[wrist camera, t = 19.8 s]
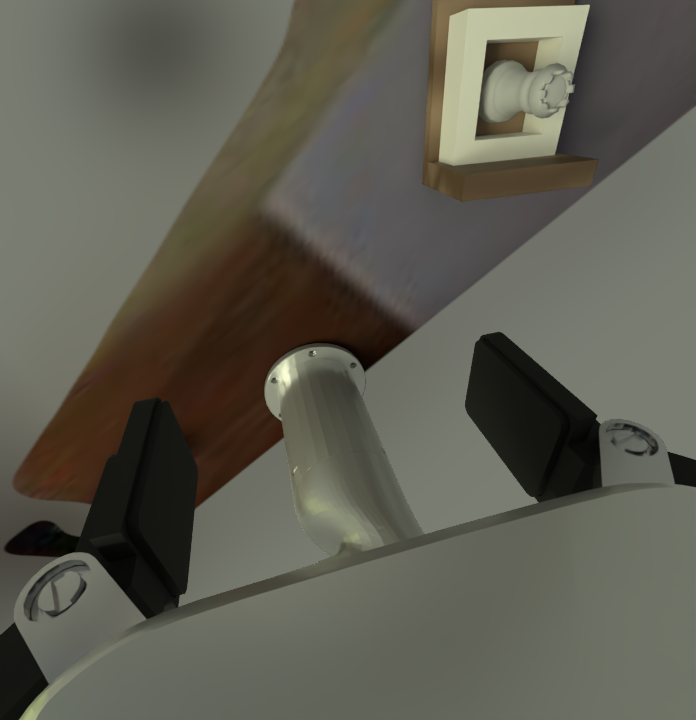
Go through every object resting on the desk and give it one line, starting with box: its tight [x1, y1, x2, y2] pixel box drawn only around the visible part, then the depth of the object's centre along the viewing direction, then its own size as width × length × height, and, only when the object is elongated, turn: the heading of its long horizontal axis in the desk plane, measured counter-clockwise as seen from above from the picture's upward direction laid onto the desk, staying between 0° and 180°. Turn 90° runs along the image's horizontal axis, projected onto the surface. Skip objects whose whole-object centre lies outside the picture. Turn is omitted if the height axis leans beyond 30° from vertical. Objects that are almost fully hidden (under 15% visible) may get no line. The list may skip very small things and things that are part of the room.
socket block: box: [439, 5, 590, 166], centre depth 31 cm, size 10×10×3 cm
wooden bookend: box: [422, 0, 598, 202], centre depth 30 cm, size 16×12×8 cm
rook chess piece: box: [478, 60, 575, 123], centre depth 29 cm, size 4×4×8 cm
